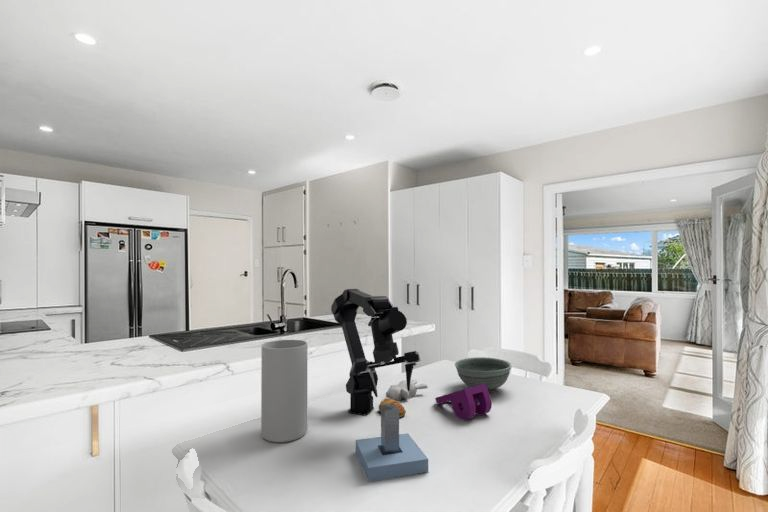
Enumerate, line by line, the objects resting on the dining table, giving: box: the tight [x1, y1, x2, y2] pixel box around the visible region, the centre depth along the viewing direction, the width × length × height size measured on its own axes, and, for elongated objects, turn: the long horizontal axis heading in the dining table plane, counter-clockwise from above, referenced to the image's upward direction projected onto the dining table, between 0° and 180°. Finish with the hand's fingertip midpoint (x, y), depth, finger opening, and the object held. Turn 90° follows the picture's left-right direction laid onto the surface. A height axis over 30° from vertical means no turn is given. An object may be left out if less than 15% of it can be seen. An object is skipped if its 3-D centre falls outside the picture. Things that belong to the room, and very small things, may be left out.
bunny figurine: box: [385, 379, 428, 402], centre depth 140 cm, size 10×5×15 cm
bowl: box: [454, 356, 512, 394], centre depth 147 cm, size 21×21×10 cm
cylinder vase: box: [260, 339, 308, 444], centre depth 109 cm, size 12×12×25 cm
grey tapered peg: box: [380, 404, 400, 455], centre depth 94 cm, size 4×4×13 cm
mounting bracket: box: [435, 384, 493, 421], centre depth 126 cm, size 9×8×18 cm
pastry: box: [378, 397, 407, 418], centre depth 124 cm, size 9×7×4 cm
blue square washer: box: [355, 432, 429, 483], centre depth 94 cm, size 14×14×3 cm
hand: (392, 393), depth 109 cm, fingers open, 9 cm apart
